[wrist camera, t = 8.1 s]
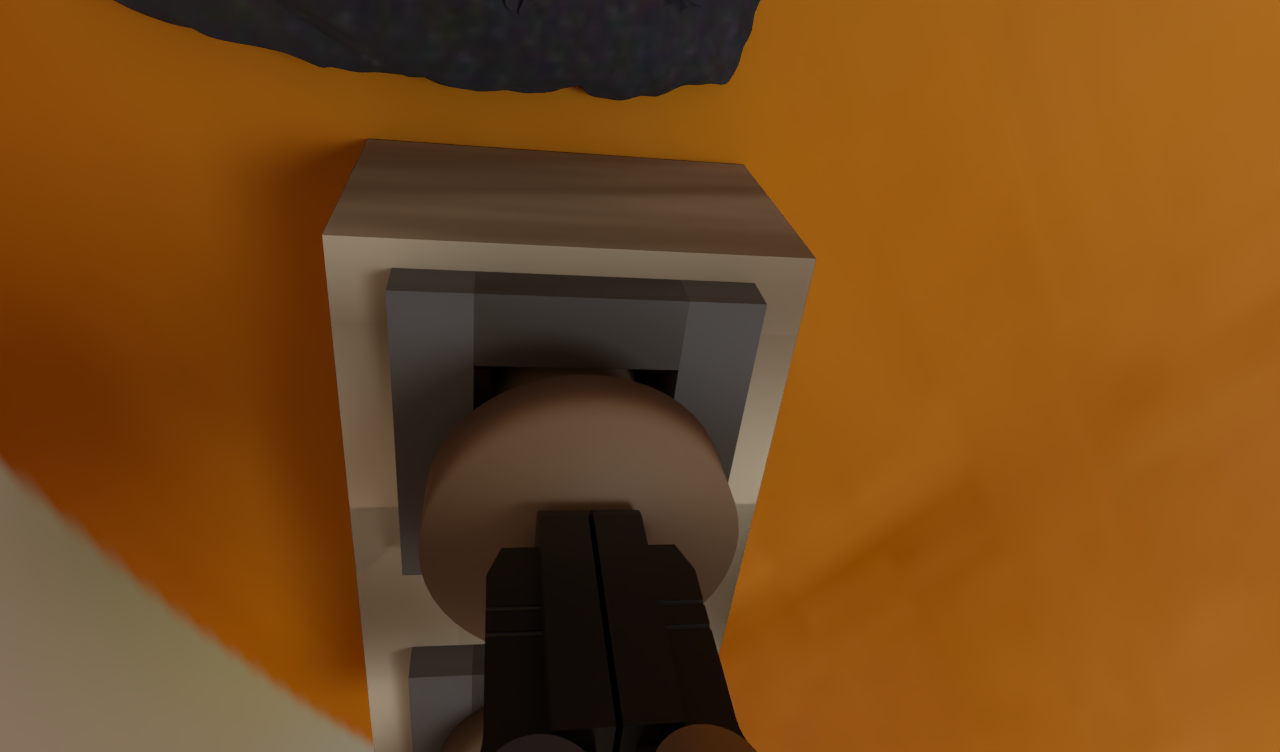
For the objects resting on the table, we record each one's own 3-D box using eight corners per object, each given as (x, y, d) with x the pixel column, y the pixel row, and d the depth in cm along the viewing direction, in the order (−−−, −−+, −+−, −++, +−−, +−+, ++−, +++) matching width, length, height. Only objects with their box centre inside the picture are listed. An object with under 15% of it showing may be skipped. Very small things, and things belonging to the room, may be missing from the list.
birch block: (367, 139, 17) (311, 256, 12) (744, 164, 18) (832, 279, 13) (401, 656, 25) (376, 849, 20) (655, 646, 26) (689, 823, 22)
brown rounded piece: (443, 227, 16) (412, 420, 11) (681, 239, 17) (766, 423, 11) (446, 426, 18) (423, 663, 13) (653, 427, 19) (711, 651, 14)
